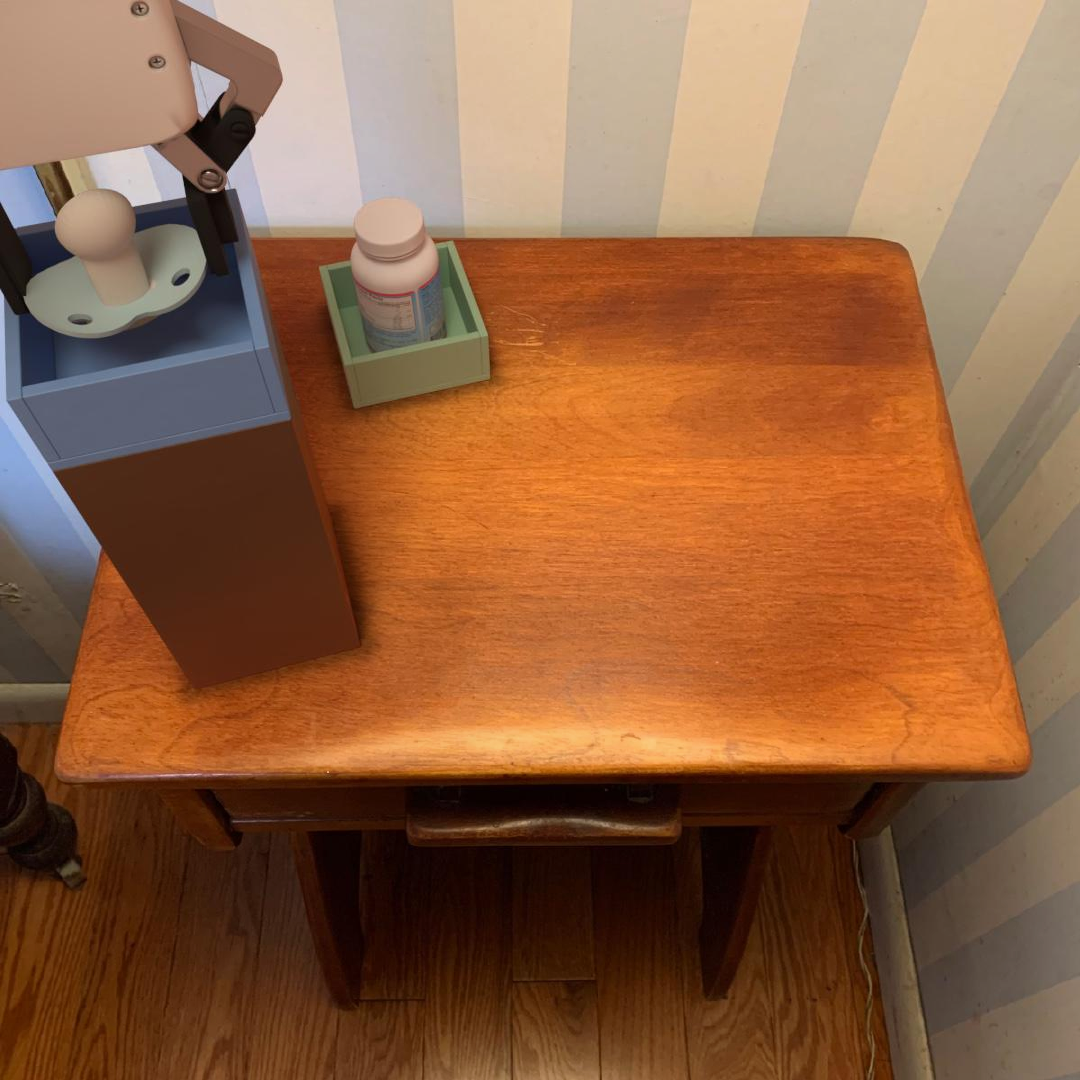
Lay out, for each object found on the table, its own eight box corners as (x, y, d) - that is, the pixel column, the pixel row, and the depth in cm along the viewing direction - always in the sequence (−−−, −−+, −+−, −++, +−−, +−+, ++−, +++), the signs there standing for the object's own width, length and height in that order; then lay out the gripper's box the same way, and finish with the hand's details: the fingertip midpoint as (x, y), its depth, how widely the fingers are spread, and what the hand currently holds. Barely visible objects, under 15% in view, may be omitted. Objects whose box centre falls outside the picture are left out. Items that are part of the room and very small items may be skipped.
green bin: (354, 409, 74) (344, 365, 70) (328, 311, 79) (318, 266, 75) (490, 379, 76) (488, 335, 72) (456, 285, 81) (453, 239, 77)
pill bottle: (418, 299, 79) (403, 177, 70) (462, 346, 77) (453, 226, 67) (350, 333, 77) (325, 212, 68) (393, 382, 75) (373, 263, 65)
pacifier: (16, 295, 44) (68, 378, 41) (-54, 167, 39) (0, 253, 36) (176, 229, 46) (235, 304, 43) (129, 101, 41) (194, 176, 38)
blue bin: (194, 690, 62) (5, 400, 40) (176, 552, 67) (1, 229, 45) (360, 647, 64) (269, 346, 41) (331, 516, 69) (235, 187, 47)
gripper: (214, -315, 31) (315, 179, 46) (-427, -253, 28) (-97, 252, 43) (249, -209, 27) (347, 293, 42) (-491, -125, 24) (-104, 382, 39)
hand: (121, 269), depth 42 cm, fingers closed on pacifier, 7 cm apart
